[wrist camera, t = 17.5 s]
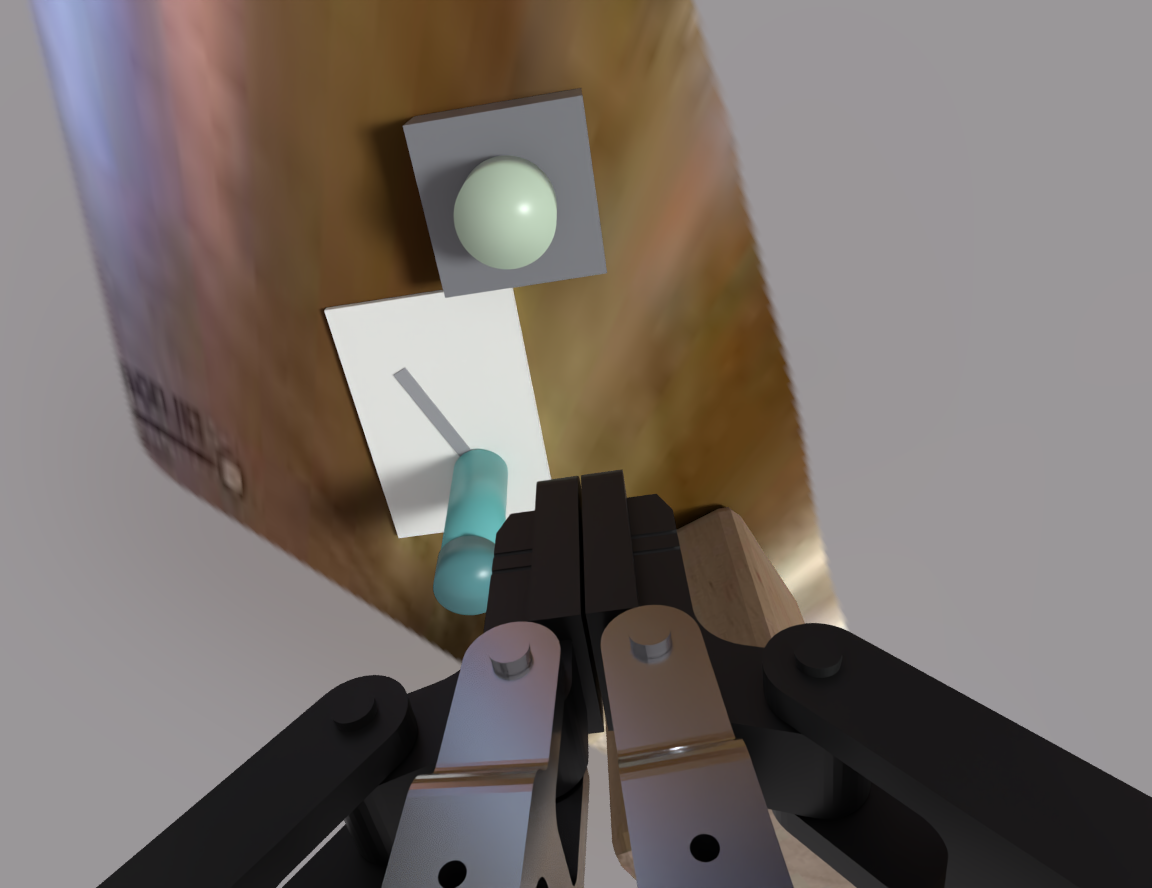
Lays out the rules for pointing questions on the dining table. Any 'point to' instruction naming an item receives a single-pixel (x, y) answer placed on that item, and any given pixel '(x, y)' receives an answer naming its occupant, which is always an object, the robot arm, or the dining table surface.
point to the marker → (471, 532)
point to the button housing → (513, 128)
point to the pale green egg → (506, 212)
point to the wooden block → (739, 615)
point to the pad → (440, 396)
